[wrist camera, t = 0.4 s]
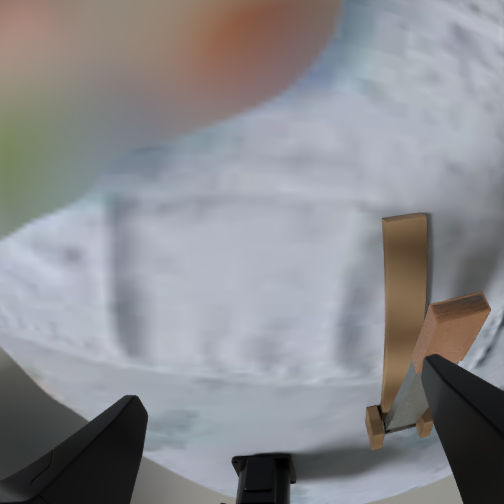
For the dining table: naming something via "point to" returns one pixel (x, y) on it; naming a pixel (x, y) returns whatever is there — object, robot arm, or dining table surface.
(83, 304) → the dining table surface
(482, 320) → the metal tong arm
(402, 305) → the walnut tong base
